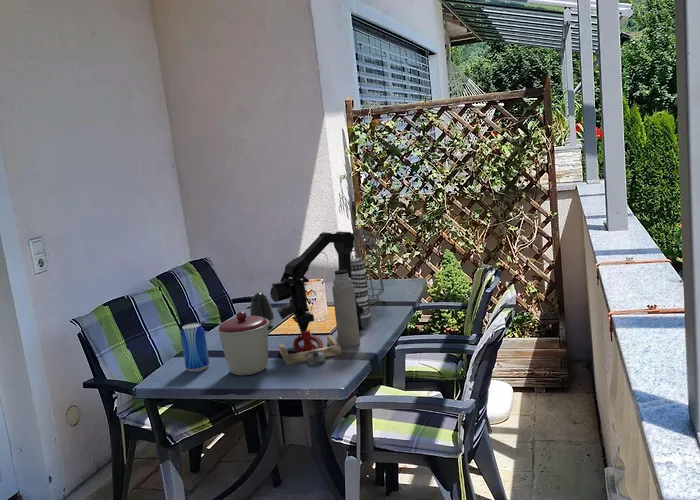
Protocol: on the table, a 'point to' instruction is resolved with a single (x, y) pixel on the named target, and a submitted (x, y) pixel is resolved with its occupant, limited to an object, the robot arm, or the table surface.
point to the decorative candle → (360, 285)
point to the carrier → (312, 353)
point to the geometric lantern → (369, 258)
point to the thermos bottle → (345, 309)
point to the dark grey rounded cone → (261, 307)
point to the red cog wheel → (307, 342)
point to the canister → (245, 343)
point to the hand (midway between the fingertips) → (303, 335)
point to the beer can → (194, 347)
